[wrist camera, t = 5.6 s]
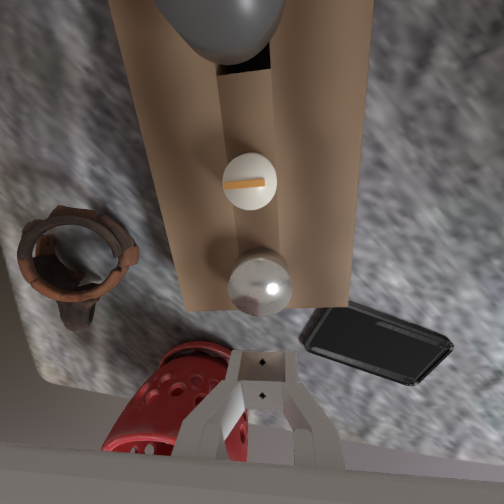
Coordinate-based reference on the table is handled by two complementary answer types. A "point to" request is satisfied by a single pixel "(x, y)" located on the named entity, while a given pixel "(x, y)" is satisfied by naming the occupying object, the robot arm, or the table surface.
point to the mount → (255, 145)
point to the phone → (377, 343)
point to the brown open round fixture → (61, 277)
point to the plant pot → (175, 402)
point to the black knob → (224, 26)
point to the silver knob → (260, 282)
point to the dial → (250, 181)
